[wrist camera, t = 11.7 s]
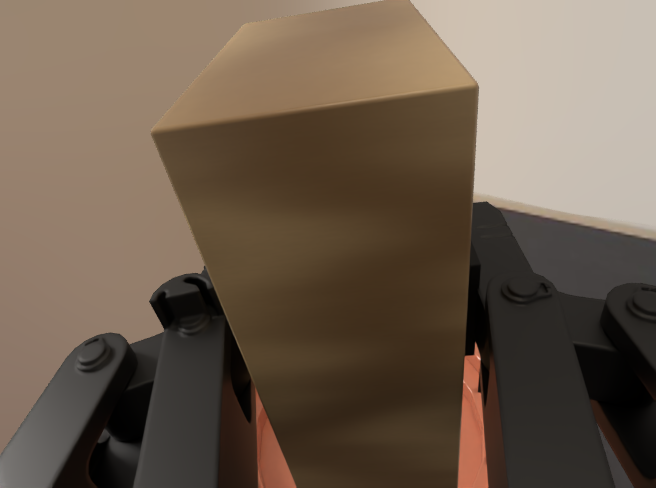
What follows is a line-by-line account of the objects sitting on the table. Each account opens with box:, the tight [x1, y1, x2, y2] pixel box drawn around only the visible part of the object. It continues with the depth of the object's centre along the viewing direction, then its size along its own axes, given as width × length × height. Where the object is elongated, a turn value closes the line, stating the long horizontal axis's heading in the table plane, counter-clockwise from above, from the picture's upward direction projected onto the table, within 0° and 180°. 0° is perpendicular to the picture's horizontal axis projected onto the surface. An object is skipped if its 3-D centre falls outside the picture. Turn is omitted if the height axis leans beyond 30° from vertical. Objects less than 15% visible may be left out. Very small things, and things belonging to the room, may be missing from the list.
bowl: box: [255, 342, 488, 488], centre depth 25 cm, size 16×16×3 cm
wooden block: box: [151, 0, 479, 488], centre depth 11 cm, size 4×6×13 cm, turn 179°
